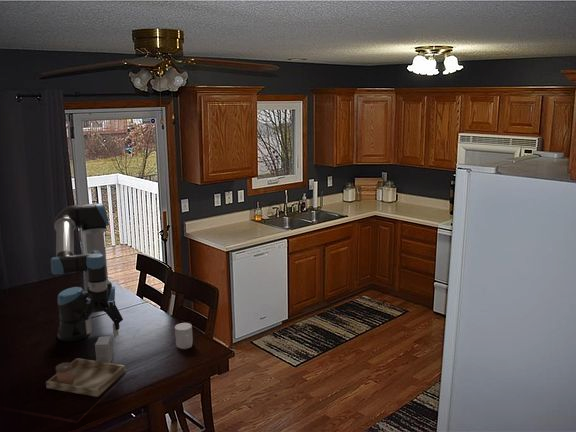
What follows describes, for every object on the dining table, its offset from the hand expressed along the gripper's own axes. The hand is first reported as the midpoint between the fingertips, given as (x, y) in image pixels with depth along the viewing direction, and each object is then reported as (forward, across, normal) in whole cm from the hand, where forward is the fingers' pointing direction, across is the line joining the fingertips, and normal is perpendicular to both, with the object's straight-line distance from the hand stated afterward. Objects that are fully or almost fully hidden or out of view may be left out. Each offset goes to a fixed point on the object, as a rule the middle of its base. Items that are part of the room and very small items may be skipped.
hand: (102, 334), depth 235 cm
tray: (+14, +2, -16) cm, 21 cm away
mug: (+14, +28, +23) cm, 39 cm away
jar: (+13, -5, -21) cm, 25 cm away
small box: (+14, 0, 0) cm, 14 cm away
